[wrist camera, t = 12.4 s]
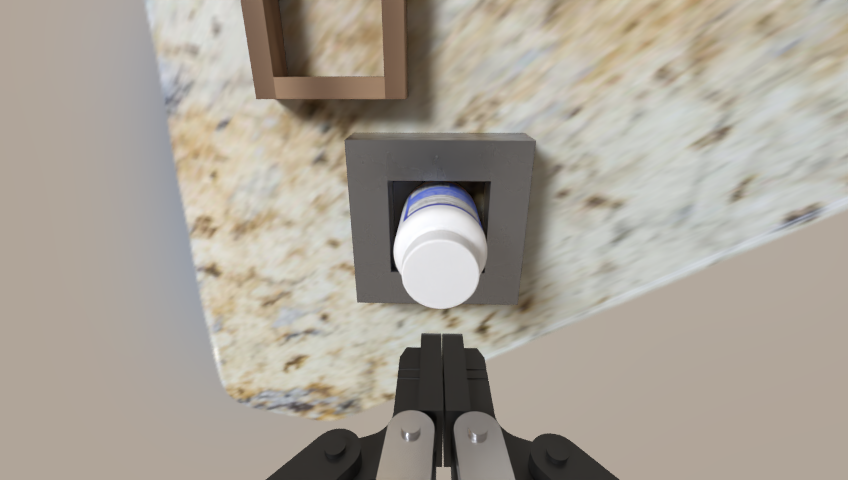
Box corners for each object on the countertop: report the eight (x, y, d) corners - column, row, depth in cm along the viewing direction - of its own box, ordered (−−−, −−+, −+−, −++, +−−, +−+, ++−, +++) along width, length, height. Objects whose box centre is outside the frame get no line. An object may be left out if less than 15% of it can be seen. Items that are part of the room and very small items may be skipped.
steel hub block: (525, 133, 26) (535, 140, 23) (510, 283, 31) (517, 304, 28) (353, 132, 26) (344, 139, 24) (364, 281, 31) (357, 302, 28)
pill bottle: (456, 257, 30) (465, 336, 21) (391, 230, 29) (372, 301, 20) (489, 195, 28) (515, 253, 19) (420, 164, 27) (413, 210, 18)
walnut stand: (405, -73, 22) (402, -90, 20) (408, 96, 25) (405, 99, 23) (248, -72, 22) (226, -89, 20) (272, 96, 26) (256, 98, 23)
